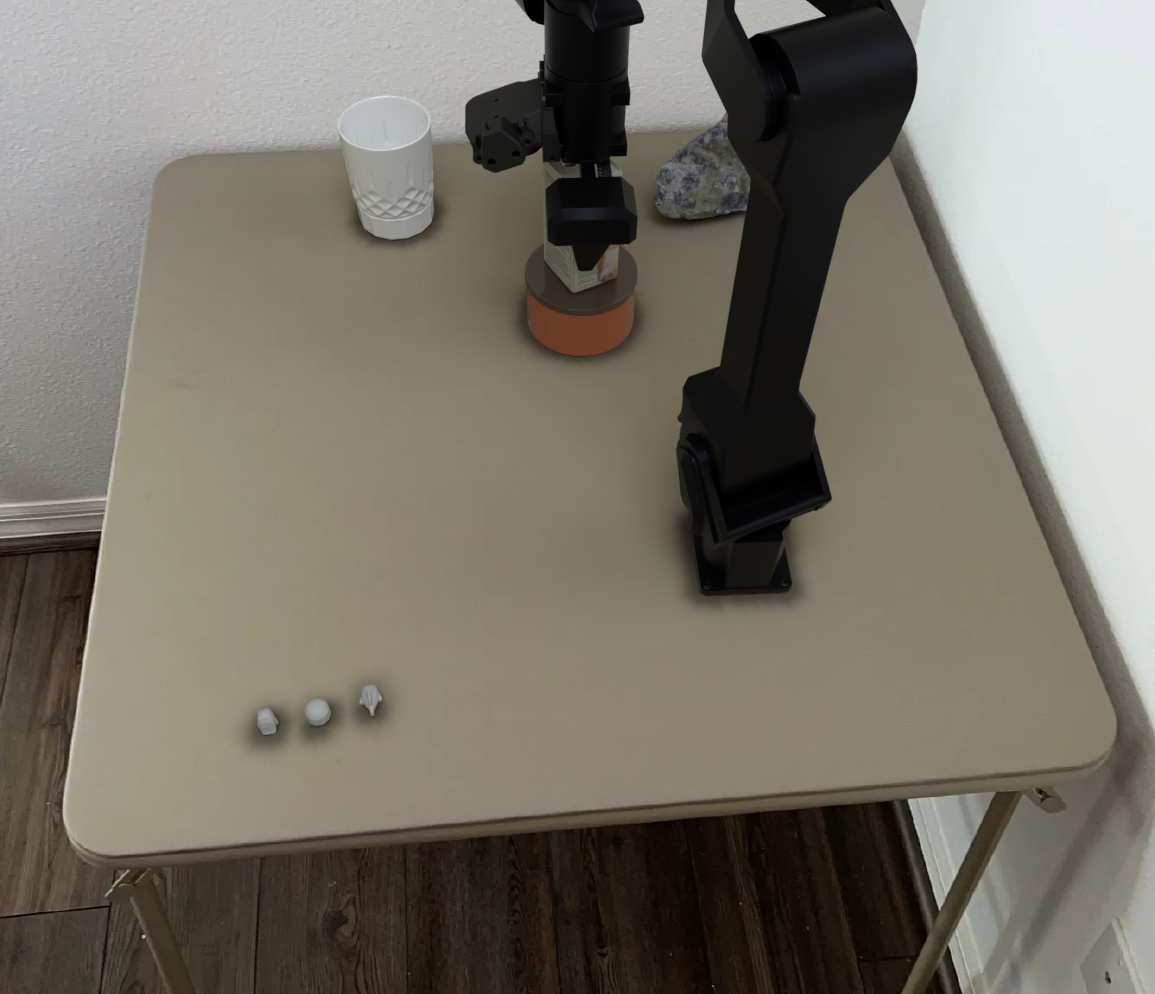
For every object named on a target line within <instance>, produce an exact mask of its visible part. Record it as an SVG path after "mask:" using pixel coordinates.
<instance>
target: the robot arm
mask: <svg viewBox="0 0 1155 994" xmlns="http://www.w3.org/2000/svg"><path fill="white" fill-rule="evenodd" d="M514 1H515V3H516V4H517V5H518V6H519V8H520V9H521V10H522V11H523V12H524V14H525V15H526V16H527V17H528V19H529V20H530V21H531V22H534V23H535V24H537V25H541V26H544V27H543V29H544V30H543V31H544V32H543V33H544V34H543V35H544V53H543V56H542V58H543V60H539V61H538V63H539V64H538V70H539V71H537V77H536V78H532V79H528V80H525V81H524V80H523V81H522V80H519V81H514V82H511V83H509V84H506V85H505V84H504V85H503V86H499V87H496V88H494V89H491V90H488V91H485V92H483V93H479V94H476V95H475V96H473V97H471V98H470V99H469V100H467V102H466V103H465V106H464V133H465V135H466V138H467V139H468V142H469V143H470V146H471V148H472V161H473V163H475V164H476V165H481V167H482V169H483V170H485V171H489V172H491V173H493V174H498V173H501V172H504V171H507V170H510V169H513V168H517V167H519V166H522V165H523V164H524V163H525V161H526V159H527V157H528V156H532V155H534V154H536V153H537V152H539V151H540V150H541V156H542V163H543V162H559V161H561V162H562V166H563V167H573V166H576V164H579V171H580V177H577V178H558V179H557V180H555V181H554V182H553V183H552V184H551V185H549V186H548V187H547V188H546V189H545V204H546V226H547V241H548V242H550V243H551V244H553V245H555V246H572V250H573V254H574V257H575V261H576V265H577V268H578V270H579V271H592V270H593V268H594V267H595V266H596V264H597V263H598V261H599V260H600V259H601V257H602V256H603V254H604V253H605V252H606V250H607V249H608V247H609V246H610V245H621V246H622V245H623V246H624V245H630V244H631V243H633V242H634V241H635V240H637V234H638V222H639V221H638V220H639V216H638V208H637V201H636V195H635V188H634V187H635V186H633V185H632V184H631V183H630V182H628V181H627V180H626V179H625V178H624V177H623V176H622V177H621V176H619V177H612V169H611V161H610V159H611V158H613V157H627V156H628V138H627V131H626V113H627V112H626V111H627V107H629V106H630V105H631V87H630V79H629V55H630V37H631V27H632V26H636V25H639V24H642V23H644V21H645V14H644V10H643V8H642V7H643V6H642V5H641V2H639V0H514ZM805 1H806V2H808V3H809V4H810V5H811V6H813V8H815V9H816V10H817V11H819V12H820V13H822V14H823V15H824V16H820V17H816V18H813V19H809V20H805V21H804V20H803V21H800V22H796V23H793V24H788V25H785V26H780V27H777V28H773V29H769V30H765V31H761V32H757V33H754V34H753V35H752V36H750V37H749V36H748V35H747V33H746V31H745V29H744V27H743V24H742V23H741V21H740V18H739V16H738V14H737V12H736V10H735V8H736V0H706V8H705V17H704V18H705V19H704V26H703V35H702V45H701V56H700V57H701V61H702V64H703V66H704V68H705V71H706V72H707V74H708V76H709V78H710V81H711V83H712V85H713V87H714V89H715V91H716V93H717V95H718V97H719V99H720V103H721V104H722V105H723V108H724V110H725V113H726V112H727V114H728V121H727V137H728V140H729V141H730V143H731V145H732V147H733V148H734V150H735V152H736V154H737V155H738V157H739V159H740V161H741V162H742V164H743V166H744V168H745V169H746V171H747V173H748V175H749V176H750V191H749V197H748V202H747V208H746V211H745V214H744V221H743V226H742V232H741V239H740V245H739V251H738V257H737V262H736V267H735V273H734V279H733V284H732V285H733V286H732V292H731V297H730V298H731V299H730V302H729V309H728V315H727V321H726V328H725V333H724V338H723V344H722V350H721V356H720V361H719V362H720V363H719V365H718V366H715V367H712V368H709V369H707V370H703V371H700V372H698V373H695V374H692V375H689V376H687V378H686V380H685V382H684V383H683V386H682V400H681V401H682V402H681V409H680V412H679V414H678V415H677V417H676V419H677V421H678V423H680V424H681V426H680V430H679V439H678V441H677V444H676V447H675V452H676V453H675V454H676V463H677V473H678V474H677V475H678V482H679V483H678V485H679V494H680V498H681V501H682V503H683V506H684V507H685V508H686V510H687V520H686V521H687V522H686V527H687V529H688V530H689V532H690V533H691V539H692V546H693V552H694V560H695V566H696V573H697V579H698V581H697V582H698V587H699V591H700V593H701V594H702V595H705V596H718V595H721V596H723V595H724V596H725V595H740V594H741V595H744V594H745V595H746V594H747V595H748V594H765V593H766V594H769V593H772V594H773V593H787V592H789V591H791V589H792V588H793V587H792V586H793V581H792V580H793V579H792V575H791V571H790V565H789V560H788V556H787V550H786V546H785V545H786V542H787V539H788V535H789V532H790V527H791V524H792V520H793V519H796V518H799V517H800V516H803V515H806V514H808V513H811V512H813V511H814V512H818V511H819V510H822V509H824V508H825V507H827V505H829V504H830V503H831V502H832V500H833V497H832V493H831V489H830V488H831V487H830V485H829V482H828V477H827V474H826V469H825V467H824V463H823V459H822V454H821V452H820V448H819V444H818V440H817V437H816V433H815V429H816V423H817V422H816V421H817V416H816V415H817V414H816V413H815V412H814V410H813V409H812V407H811V406H810V404H809V403H808V402H807V400H806V398H805V396H803V394H802V392H801V391H800V386H801V380H802V377H803V373H804V368H805V365H806V362H807V357H808V353H809V350H810V346H811V341H812V338H813V333H814V330H815V327H816V321H817V317H818V314H819V310H820V307H821V302H822V298H823V294H824V291H825V286H826V283H827V279H828V275H829V271H830V267H831V264H832V261H833V260H832V259H833V255H834V251H835V249H836V243H837V239H838V236H839V232H840V229H841V224H842V220H843V216H844V214H845V213H844V212H845V209H846V205H847V203H848V201H849V199H850V198H851V197H852V196H853V195H854V193H855V192H857V190H858V189H859V188H860V187H861V186H862V185H863V184H864V183H865V182H866V180H867V179H868V178H869V177H870V176H871V175H872V174H873V173H874V172H875V171H876V169H878V168H879V166H880V165H881V164H882V163H883V162H884V161H885V160H886V159H887V158H888V157H889V155H890V154H891V152H892V150H893V148H894V146H895V144H896V142H897V140H898V137H899V135H900V134H901V131H902V128H903V126H904V124H905V122H906V120H907V118H908V115H909V114H910V111H911V109H912V107H913V103H914V101H915V98H916V93H917V87H918V83H919V82H918V79H919V76H918V75H919V74H918V72H919V66H918V57H917V56H918V55H917V51H916V49H915V45H914V43H913V40H912V38H911V36H910V34H909V32H908V30H907V29H906V27H905V25H904V23H903V20H902V19H901V17H900V15H899V13H898V11H897V9H896V7H895V6H894V3H893V1H892V0H805ZM595 164H596V165H597V172H598V177H596V172H595ZM784 584H786V585H784ZM706 587H708V588H706Z"/></svg>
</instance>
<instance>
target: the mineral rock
mask: <svg viewBox="0 0 1155 994" xmlns="http://www.w3.org/2000/svg"><path fill="white" fill-rule="evenodd" d="M727 121H728V114H727V112H726V111H725V112H724V115H723V116H722V118H721V120H719V121H718V122H717V123H716V124H715V125H714V126H712V127H709V128H708V129H707V130H706V131H704V132H702V133H700V134H698V135H696V136H694V137H693V138H691V139H690V140H689V141H688V142H687V143H686V144H685V146H684V147H681V148H679V149H677V150H675V153H674V154H673V155H672V156H671V158H670V159H669V160H667V161H666V162H665V163H664V164H663V165H662V167H660V168H659V170H657V172H656V173H655V176H654V180H655V182H656V190H657V192H656V194H655V195H656V196H655V197H654V206H655V207H656V208H657V211H658V213H659V214H660V215H662V216H664V217H666V218H670V219H671V218H672V219H681V218H684V219H686V220H699V219H706V218H715V217H716V216H724V215H728V214H731V213H735V212H738V211H739V212H746V208H747V202H748V197H749V191H750V176H749V175H748V173H747V171H746V169H745V168H744V166H743V164H742V162H741V161H740V159H739V157H738V155H737V154H736V152H735V150H734V148H733V147H732V145H731V143H730V141H729V140H728V137H727Z"/></svg>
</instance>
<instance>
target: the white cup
mask: <svg viewBox="0 0 1155 994" xmlns="http://www.w3.org/2000/svg"><path fill="white" fill-rule="evenodd" d="M431 118H432V117H431V115H430V113H429V111H428V109H427V108H426V107H425V106H424V105H422V104H421V103H419V102H417V101H416V100H413V99H411V98H408V97H404V96H401V95H400V96H399V95H388V94H387V95H376V96H370V97H366V98H363V99H361V100H358V101H356V102H354V103H352V104H350V105H349V106H348V107H346V108H345V109H344V110H343V111H342V113H340V115H339V117H338V119H337V123H336V124H337V125H336V127H337V133H338V138H339V141H340V146H341V150H342V154H343V159H344V163H345V164H344V165H345V168H346V173H347V175H348V180H349V183H350V184H349V185H350V187H351V191H352V196H353V200H354V201H355V203H356V209H357V213H358V217H359V219H360V222H361V225H362V227H363V229H364V230H365V231H367V232H368V233H370V234H371V235H373V236H374V237H377V238H381V239H386V240H390V241H392V240H393V241H394V240H404V239H409V238H412V237H414V236H417V235H419V234H421V233H423V232H424V231H425V230H426V229H427V228H428V227H429V226H430V225H431V224H432V221H433V218H434V213H435V204H434V184H435V183H434V182H435V181H434V155H433V137H432V134H433V133H432V119H431Z"/></svg>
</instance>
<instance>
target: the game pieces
mask: <svg viewBox="0 0 1155 994" xmlns="http://www.w3.org/2000/svg"><path fill="white" fill-rule="evenodd" d="M382 701H383V697H382V696H381V694H380V692H379V689H378V687H377V686H376V684H374V683H373V684H368V685H364V686H362V689H361V693H360V697H359V700H358V703H359V705H360V706H365V708H366V709H367V710H368V711H369V714H370V716H371V717H374V716H375V714H376V713H375V710H376V708H377V705H378V703H380V702H382ZM304 715H305V717H306V720H307V722H308V723H309V724H310V725H313V726H314V727H318V726H324V725H325V724H326V723H328V721H329V720H330V719H331V715H332V711H331V709H330V706H329V703H328V702H327V701H326V700H325V699H324V698H320V697H319V698H318V697H316V698H313V699H311V700H309V701H308V702H307V703H306V704H305V706H304ZM277 725H279V721H278V719H277V718H276V717H275V714H274V712H273V710H272V709H271V708H268V707H262V709H259V711H258V712H257V718H256V726H257V728H259V729H260V732H261V733H262V735H264V736H267V735H268V736H269V735H273V734H275V733H277Z"/></svg>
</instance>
